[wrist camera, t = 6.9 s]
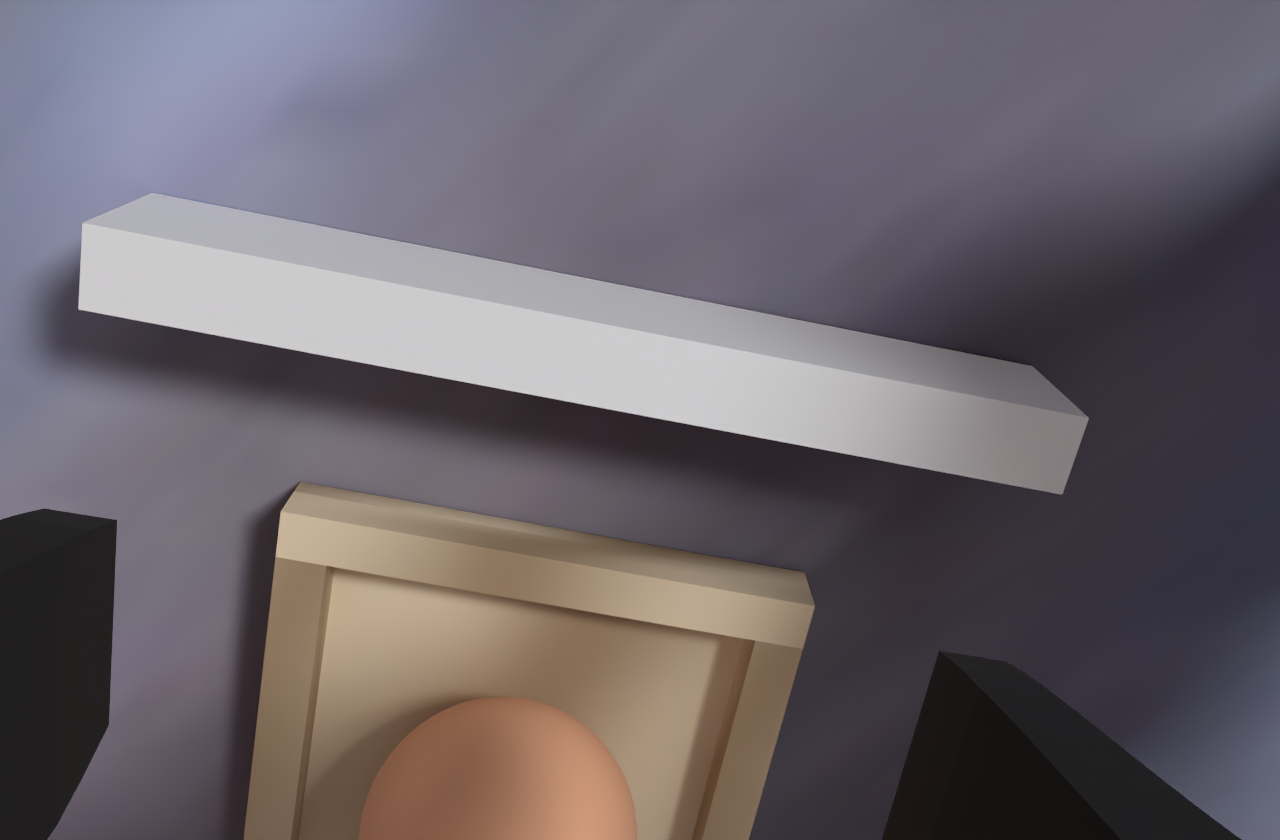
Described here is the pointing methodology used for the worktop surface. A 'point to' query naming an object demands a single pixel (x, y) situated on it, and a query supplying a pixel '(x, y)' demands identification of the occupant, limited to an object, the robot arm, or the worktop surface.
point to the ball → (500, 779)
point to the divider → (576, 340)
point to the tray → (515, 657)
